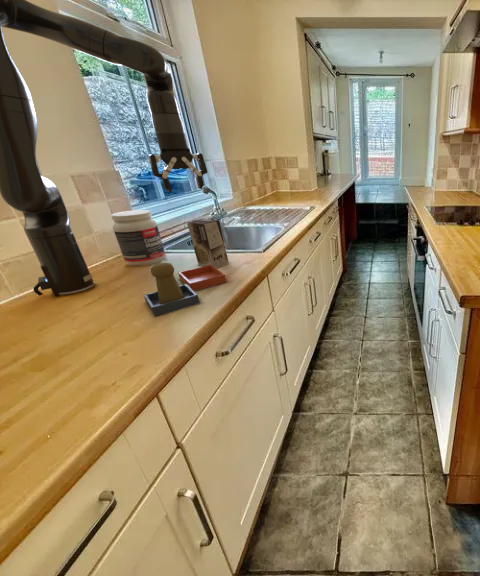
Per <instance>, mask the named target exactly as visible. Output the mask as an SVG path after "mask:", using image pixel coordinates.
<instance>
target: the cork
mask: <svg viewBox="0 0 480 576" xmlns="http://www.w3.org/2000/svg"><path fill="white" fill-rule="evenodd" d="M150 273H151V275H152V277H154V278H155V284H156V290H157V291H158V297H159V303H160V305H161V304H164V303H168V302H172V301H175V300H179V299H182V298H185V297H184V295H183V293H182V291H181V289H180V287H179V286H180V285H179V283H178V281H177V279H176V276H175V274H174V273H175V267H174V265H173V264H172V263H171V262H167V261H166V262H165V261H164V262H158V263H156V264H152V265H151V267H150ZM157 291H156V292H157Z"/></svg>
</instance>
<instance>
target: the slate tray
mask: <svg viewBox="0 0 480 576" xmlns="http://www.w3.org/2000/svg"><path fill="white" fill-rule="evenodd" d="M179 287H180V289H181V291H182V293H183V295H184V297H185V298H182V299H179V300H175V301H172V302H168V303H164V304H161V305H160V303H159V297H158V291H153V292H150V293H146V294H143V298H144V301H145V303H146V305H147V307H148V308H149V310H150V312H151V313H152V315H153V316H154V317H159V316H161V315H162V316H163V315H166V314H169V313H172V312H176V311H178V310H183V309H185V308H189V307H193V306H196V305H199V304H200V303H201V301H200V298H199V294H197V293H196V292H195V291H193V290H192V289H191V288H190V287H189V286H188V285H187V284H184V283H183V284H181V285H179Z"/></svg>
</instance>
